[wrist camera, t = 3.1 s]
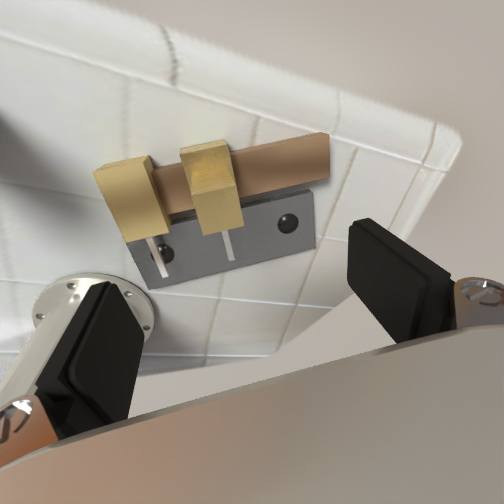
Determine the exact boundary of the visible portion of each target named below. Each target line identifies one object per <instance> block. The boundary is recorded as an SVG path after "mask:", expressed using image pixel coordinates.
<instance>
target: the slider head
mask: <svg viewBox="0 0 504 504" xmlns="http://www.w3.org/2000/svg"><path fill="white" fill-rule="evenodd" d="M180 157H181V161H182V164H183V167H184V171H185V174H186V177H187V180H188V184H189V187H190V190H191V197H192V200H193V203H194V207H195V210H196V213H197V216H198V220H199V223H200V226H201V230H202V233H203V236H204V235H208V234H213V233H217V232H222V235H223V239H224V243H225V247H226V251H227V255H228V259H229V261H232V260H235V259H234V255H233V251H232V247H231V242H230V238H229V234H228V230H229V229H233V228H237V227H242V226H244V222H243V217H242V211H241V207H240V202H239V197H238V192H237V187H236V182H235V177H234V172H233V168H232V163H231V158H230V153H229V148H228V144H227V143H226V141H225V140H219V141H214V142H210V143H205V144H200V145H196V146H191V147H186V148H181V151H180Z"/></svg>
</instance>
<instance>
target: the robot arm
mask: <svg viewBox="0 0 504 504" xmlns="http://www.w3.org/2000/svg"><path fill="white" fill-rule="evenodd" d="M450 277H451V274H450V273H449V272H447V271H446V270H444V269H443V268H441V267H440V266H438V265H437V264H436V263H434V262H433V261H431V260H430V259H428V258H427V257H425V256H424V255H422V254H421V253H419V252H418V251H417V250H415V249H414V248H412V247H411V246H409V245H408V244H406V243H405V242H404V241H402V240H401V239H399V238H398V237H396V236H395V235H393V234H392V233H391V232H389V231H388V230H386V229H385V228H383V227H382V226H380V225H379V224H377V223H376V222H375V221H373V220H372V219H370V218H365V219H361V220H357V221H354V222H353V224H352V226H350V227H349V237H348V267H347V281H348V284H349V286H350V287H351V288H352V290H353V291H354V292H355V293H356V295H357V296H358V297H359V298H360V299H361V301H362V302H363V303H364V304H365V306H366V307H367V308H368V309H369V310H370V312H371V313H372V314H373V315H374V316H375V318H376V319H377V320H378V321H379V323H380V324H381V325H382V326H383V328H384V329H385V330H386V331H387V332H388V334H389V335H390V336H391V337H392V339H393V340H394V341H395V342H396V343H397V344H394V345H390V346H386V347H383V348H379V349H375V350H372V351H368V352H364V353H361V354H357V355H353V356H350V357H346V358H342V359H339V360H335V361H331V362H328V363H324V364H320V365H317V366H313V367H309V368H306V369H302V370H299V371H295V372H291V373H288V374H284V375H281V376H277V377H274V378H270V379H267V380H263V381H259V382H256V383H252V384H248V385H245V386H241V387H238V388H234V389H231V390H227V391H223V392H220V393H216V394H213V395H210V396H206V397H203V398H199V399H195V400H192V401H188V402H185V403H181V404H178V405H174V406H171V407H167V408H164V409H160V410H157V411H154V412H150V413H146V414H143V415H139V416H136V417H132V418H129V419H128V414H129V409H130V405H131V400H132V395H133V390H134V386H135V382H136V377H137V373H138V368H139V363H140V358H141V354H142V349H143V344H144V343H145V342H146V340H147V339H148V338H149V337H150V335H151V333H152V330H153V326H154V320H155V314H154V309H153V306H152V304H151V302H150V300H149V299H148V298H147V296H146V295H145V294H144V293H143V292H142V291H141V290H140V289H138V288H137V287H136V286H134V285H132V284H131V283H129V282H127V281H125V280H122V279H120V278H117V277H114V276H109V275H105V274H95V273H85V274H76V275H71V276H67V277H64V278H62V279H59V280H57V281H55V282H54V283H52V284H51V285H49V286H48V287H47V288H46V289H45V290H44V291H43V292H42V293H41V294H40V296H39V297H38V298H37V300H36V301H35V304H34V306H33V309H32V319H33V323H34V326H35V328H36V330H35V331H34V333H33V334H32V335H31V337H30V338H29V340H28V341H27V343H26V344H25V345H24V347H23V348H22V350H21V351H20V353H19V354H18V356H17V357H16V358H15V360H14V361H13V363H12V364H11V366H10V367H9V368H8V370H7V371H6V373H5V374H4V376H3V377H2V378H1V380H0V504H504V285H503V284H501V283H499V282H496V281H493V280H490V279H485V278H479V277H468V278H463V279H460V280H458V281H457V282H456V283H455V282H454V281H453V280H451V279H450Z"/></svg>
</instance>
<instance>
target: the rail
mask: <svg viewBox="0 0 504 504" xmlns="http://www.w3.org/2000/svg"><path fill="white" fill-rule="evenodd" d="M229 153H230V158H231V163H232V168H233V172H234V177H235V182H236V187H237V192H238V197H239V198H242V197H246V196H251V195H255V194H259V193H264V192H268V191H272V190H276V189H281V188H285V187H289V186H294V185H298V184H302V183H307V182H311V181H315V180H320V179H324V178H328V177H330V150H329V134H326V133H322V132H319V133H314V134H309V135H305V136H300V137H296V138H291V139H286V140H282V141H277V142H273V143H268V144H263V145H259V146H254V147H250V148H245V149H240V150H236V151H231V152H229ZM92 174H93V176H94V178H95V180H96V182H97V184H98V186H99V189H100V191H101V193H102V195H103V197H104V199H105V201H106V203H107V205H108V207H109V209H110V211H111V213H112V215H113V217H114V219H115V221H116V223H117V225H118V227H119V229H120V231H121V233H122V235H123V238H124V240H125V242H126V243H127V242H131V241H135V240H139V239H144V238H145V239H146V241H147V243H148V246H149V248H150V250H151V252H152V255H153V257H154V259H155V261H156V264H157V266H158V268H159V271H160V273H161V275H162V277H163V278H164V277H168V276H169V272H168V270H167V267H166V265H165V262H164V260H163V258H162V255H161V253H160V251H159V248H158V246H157V243H156V241H155V239H154V236H156V235H160V234H165V233H169V231H170V226H171V220H172V218H171V215H170V214H173V213H177V212H182V211H186V210H190V209H195V207H194V203H193V200H192V197H191V190H190V187H189V184H188V180H187V177H186V174H185V171H184V167H183V164H182V162H181V163H176V164H171V165H167V166H162V167H158V168H153V165H152V162H151V160H150V157H149V155H147V156H142V157H138V158H133V159H128V160H124V161H119V162H114V163H110V164H105V165H103V166H102V167H100V168H99V169H98V170H96V171H95V172H93V173H92Z"/></svg>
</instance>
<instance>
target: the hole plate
mask: <svg viewBox="0 0 504 504" xmlns="http://www.w3.org/2000/svg"><path fill="white" fill-rule="evenodd" d="M240 207H241V211H242V217H243V222H244V226H242V227H237V228H233V229H229V230H228V234H229V238H230V242H231V247H232V251H233V255H234V259H235V260H232V261H229V259H228V255H227V251H226V247H225V243H224V239H223V235H222V232H217V233H213V234H208V235H204V236H203V233H202V230H201V226H200V223H199V220H198V216H192V217H188V218H184V219H180V220H175V221H171V226H170V231H169V233H165V234H160V235H156V236H154V239H155V241H156V243H157V246H158V248H159V251H160V253H161V255H162V258H163V260H164V262H165V265H166V267H167V270H168V272H169V276H168V277H164V278H163V277H162V275H161V273H160V271H159V268H158V266H157V264H156V261H155V259H154V257H153V255H152V252H151V250H150V248H149V246H148V243H147V241H146V239H145V238H144V239H139V240H135V241H131V242H127V243H126V242H125V243H126V245H127V247H128V249H129V251H130V253H131V255H132V257H133V259H134V261H135V263H136V265H137V267H138V269H139V271H140V273H141V275H142V277H143V279H144V281H145V283H146V285H147V287H148V290H151V289H155V288H159V287H162V286H166V285H170V284H174V283H178V282H182V281H186V280H190V279H194V278H198V277H202V276H206V275H210V274H214V273H218V272H222V271H226V270H230V269H233V268H237V267H241V266H245V265H249V264H253V263H257V262H261V261H265V260H269V259H273V258H277V257H281V256H285V255H289V254H293V253H297V252H301V251H305V250H308V249H312V248H315V234H314V214H313V193H312V191H311V190H309V189H308V190H303V191H299V192H295V193H291V194H286V195H282V196H278V197H274V198H269V199H265V200H261V201H256V202H252V203H248V204H244V205H240ZM123 239H124V238H123ZM124 241H125V240H124Z"/></svg>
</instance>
